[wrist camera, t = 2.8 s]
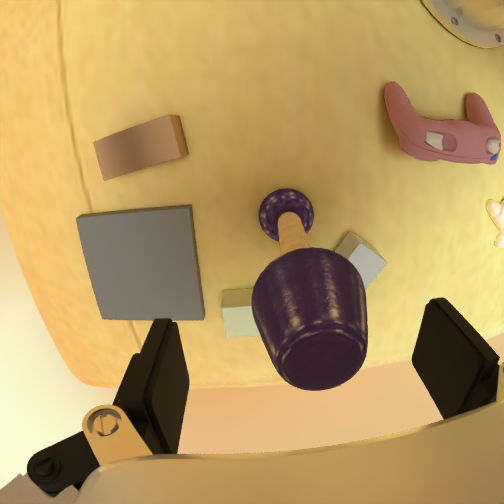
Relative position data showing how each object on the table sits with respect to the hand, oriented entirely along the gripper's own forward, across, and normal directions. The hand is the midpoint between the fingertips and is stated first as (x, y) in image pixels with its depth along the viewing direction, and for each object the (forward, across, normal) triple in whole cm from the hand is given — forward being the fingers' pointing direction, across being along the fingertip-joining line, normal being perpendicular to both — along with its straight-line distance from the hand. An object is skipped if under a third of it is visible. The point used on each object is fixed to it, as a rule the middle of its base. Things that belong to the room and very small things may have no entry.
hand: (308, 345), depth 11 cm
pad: (+15, +11, +3) cm, 19 cm away
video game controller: (+15, -14, -8) cm, 22 cm away
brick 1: (+15, +9, -7) cm, 19 cm away
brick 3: (+15, -6, +4) cm, 17 cm away
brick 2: (+15, +1, +7) cm, 17 cm away
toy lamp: (+15, -1, -1) cm, 15 cm away
